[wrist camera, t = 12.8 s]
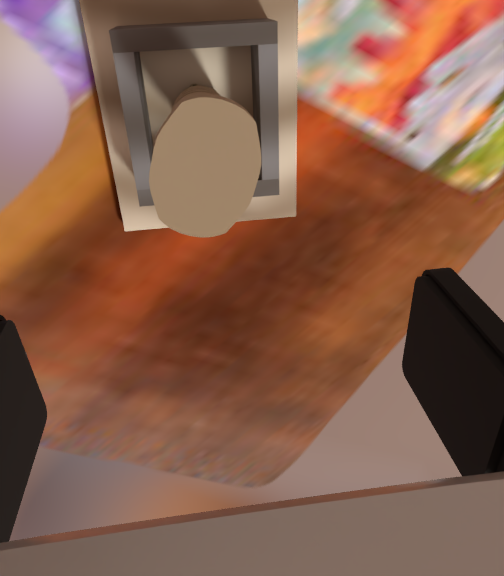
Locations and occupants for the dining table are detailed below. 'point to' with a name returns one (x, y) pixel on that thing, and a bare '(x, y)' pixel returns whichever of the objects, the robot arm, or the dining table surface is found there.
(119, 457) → the dining table surface
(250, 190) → the handle
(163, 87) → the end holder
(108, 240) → the dining table surface
